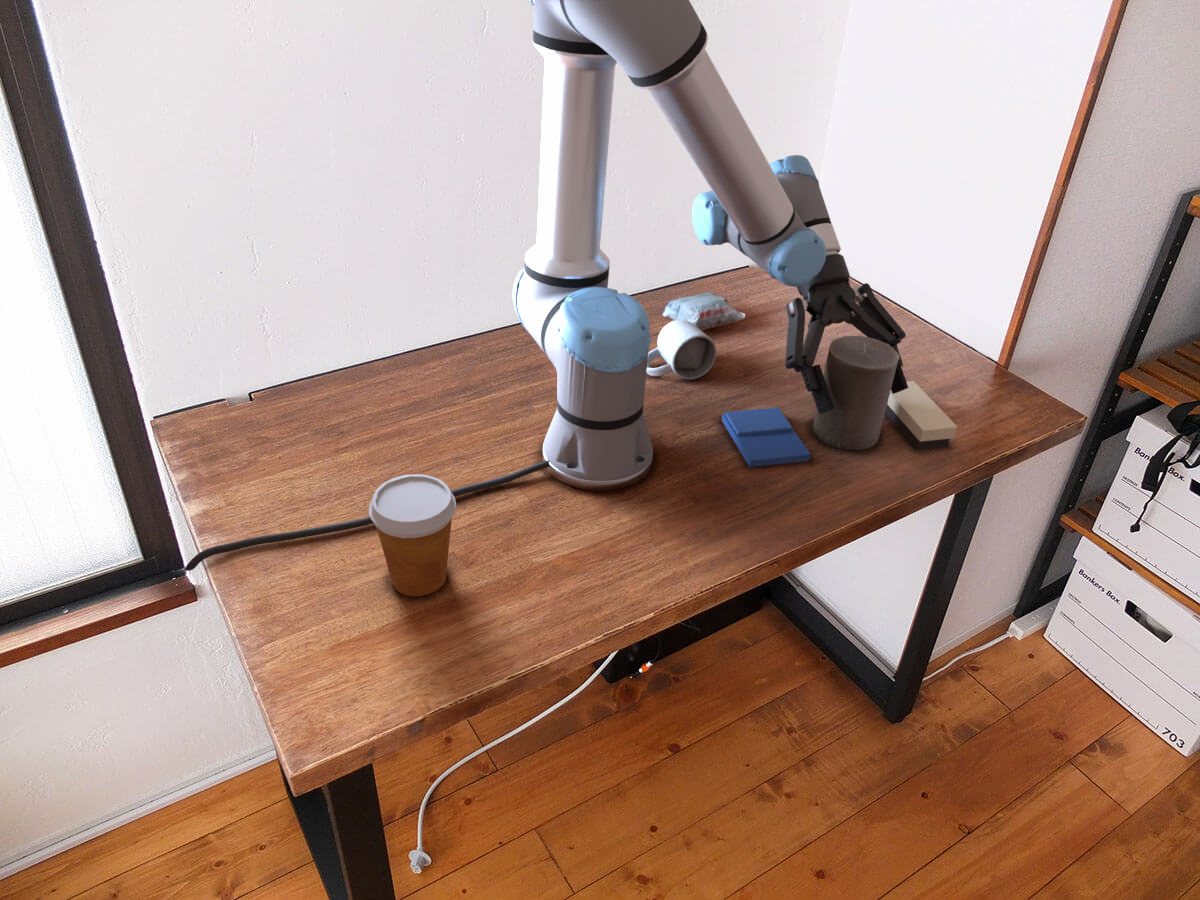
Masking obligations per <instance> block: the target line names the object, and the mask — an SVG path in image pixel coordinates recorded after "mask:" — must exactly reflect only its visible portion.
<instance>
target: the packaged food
mask: <svg viewBox="0 0 1200 900" xmlns="http://www.w3.org/2000/svg"><path fill="white" fill-rule="evenodd" d="M662 317H665V318H666V317H669V318H670V319H672V320H678V319H682V320H687V321H689V322H691V323H693V324H694V325H696V326H697V327H698V328H699V329H700V330H701V331H704V330H708V329H715V328H718V327H721V326H725V325H730V324H733V323H735V322H737V321H738V322H739V321H740V320H744V319H745V317H746V314H745V313H744V312H741V311H739V310H736V309H735V308H734V307H732V305H730V304H729V301H728V299H727V298H725V297H722V296H720V295H717V294H715V293H713V292H710V291H709V292H708V291H707V292H705V293H700V294H696V295H690V296H683V297H679V298H676V299H672V300H670V301H669V302H668V303H667V304H666V305H665V307H664V310H663V311H662Z"/></svg>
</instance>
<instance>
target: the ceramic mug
mask: <svg viewBox="0 0 1200 900" xmlns="http://www.w3.org/2000/svg"><path fill="white" fill-rule="evenodd" d="M656 339H657V340H656V345H657V346H656V347H655V348H653V349H651V350H649V351H648V360H647V371H646V375H649V376H651V377H661V376H665V375H667V374H671V373H672V372H673V373H674V374H675V375H676V376H677V377H678V378H680V379H683V380H696V379H699V378H701V377H703V376H705V374H707V373H708V372H709V371H710V370H711V369H712V367H713V365H714V364H715V362H716V358H717V346H716V344H715V342H714V340H713V339H712V338H711V337H710V336H708V335H707V334H706V333H705V332H704V330H702V331H701V330H700V329H699V328H698V327H697V326H696V325H694V324H693V323H691V322H689V321H687V320H682V319H678V320H674V319H672V320H671V321H669V322H668V323H666V324H665V325H664V326H663V327H662V328H661V329H660V331H659V333H658V335H657V338H656ZM659 356H661V357H662V358H663V359H664V361H665V362H666V363H667V364H665V365H664V364H663V365H661V366H659V367H650V363H651V362H652V361H653V360H654V359H656V358H657V357H659Z"/></svg>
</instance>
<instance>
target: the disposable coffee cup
mask: <svg viewBox="0 0 1200 900" xmlns="http://www.w3.org/2000/svg"><path fill="white" fill-rule="evenodd" d="M451 491H452V490H450V487H449V485H447V484H446V483H445V482H444V481H443V480H441V479H439V478H437V477H435V476H432V475H428V474H421V473H415V474H404V475H399V476H395V477H393V478H390V479H389V480H387V481H385V482H383V483H382V484H380V485H379V486H378V487H377V489H375V491H374V493H373V495H372V499H371V501H370V502H369V505H368V514H369V517H370V518H371V520H372V521H373V522H374V523H373V524H374V526H375V528H376V531H377V535H378V537H379V541H380V545H381V549H382V552H383V555H384V559H385V563H386V566H387V569H388V573H389V576H390V580H391V585H392V586H393V588H394V589H395V590H396V591H397V592H399V593H401V594H402V595H404V596H409V597H422V596H427V595H430V594H433V593H435V592H437V591H438V590H439V589H441V587H442V586H443V585H444V584H445V582H446V579H447V571H448V561H449V551H450V542H451V532H452V531H451V529H452V521H453V517H454V514H455V512H456V509H457V502H456V497H454V496H453V494H452V493H451Z"/></svg>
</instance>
